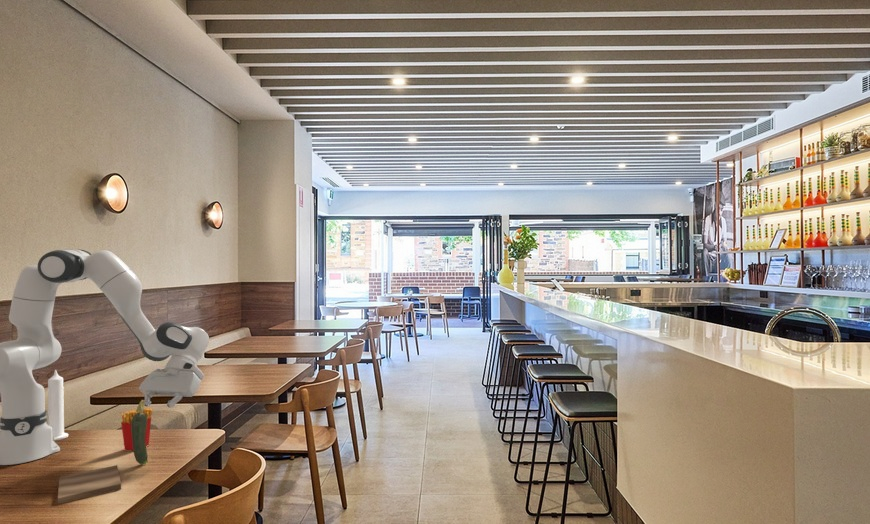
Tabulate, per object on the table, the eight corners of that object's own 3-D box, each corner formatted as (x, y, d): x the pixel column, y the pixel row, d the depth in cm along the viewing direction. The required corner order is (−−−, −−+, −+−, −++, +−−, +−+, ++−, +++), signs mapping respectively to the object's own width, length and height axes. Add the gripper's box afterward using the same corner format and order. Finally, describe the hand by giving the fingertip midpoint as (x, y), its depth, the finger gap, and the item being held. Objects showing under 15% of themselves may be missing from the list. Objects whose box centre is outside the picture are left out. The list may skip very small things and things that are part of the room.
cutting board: (59, 482, 144) (59, 477, 144) (117, 470, 152) (117, 465, 152) (57, 504, 130) (57, 498, 130) (121, 489, 138) (121, 483, 138)
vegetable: (136, 469, 152) (135, 403, 153) (128, 466, 155) (127, 401, 155) (151, 464, 156) (149, 399, 156) (143, 461, 158) (142, 398, 159)
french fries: (123, 452, 167) (122, 413, 167) (120, 449, 170) (120, 411, 170) (154, 445, 173) (153, 408, 173) (151, 442, 176) (150, 405, 176)
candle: (55, 441, 180) (54, 372, 180) (39, 440, 181) (38, 371, 182) (73, 435, 187) (72, 368, 187) (57, 434, 188) (56, 367, 189)
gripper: (148, 364, 173) (125, 399, 163) (199, 365, 168) (178, 402, 158) (159, 374, 177) (136, 409, 167) (208, 375, 172) (188, 412, 162)
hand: (157, 406), depth 163 cm, fingers open, 8 cm apart
